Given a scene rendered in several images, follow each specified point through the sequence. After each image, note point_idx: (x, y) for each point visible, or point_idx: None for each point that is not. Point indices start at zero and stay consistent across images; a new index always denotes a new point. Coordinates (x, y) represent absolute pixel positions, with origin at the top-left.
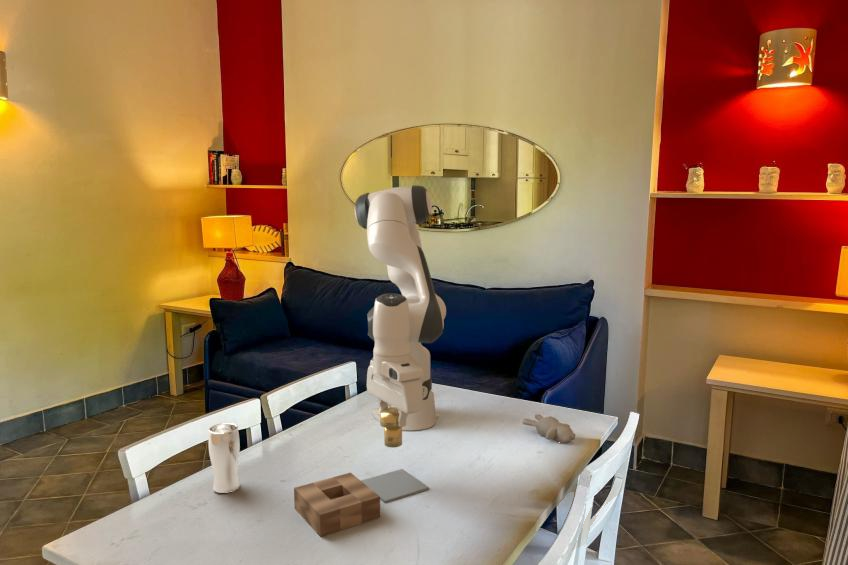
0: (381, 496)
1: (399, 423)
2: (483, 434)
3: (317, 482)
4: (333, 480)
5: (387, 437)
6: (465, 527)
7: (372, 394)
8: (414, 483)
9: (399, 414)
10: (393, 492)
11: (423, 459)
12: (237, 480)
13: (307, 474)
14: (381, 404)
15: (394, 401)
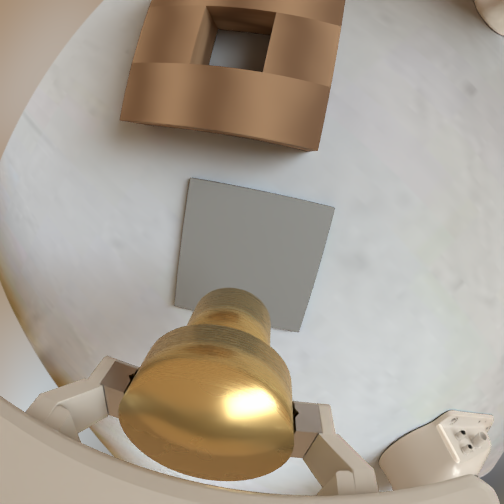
0: (215, 187)
1: (98, 366)
2: (285, 483)
3: (332, 34)
4: (309, 73)
5: (216, 309)
6: (35, 237)
7: (429, 489)
8: None
9: (63, 399)
10: (211, 226)
11: (301, 391)
12: (494, 16)
13: (462, 148)
14: (338, 463)
15: (30, 463)
